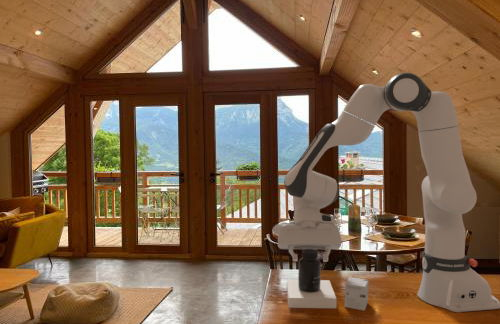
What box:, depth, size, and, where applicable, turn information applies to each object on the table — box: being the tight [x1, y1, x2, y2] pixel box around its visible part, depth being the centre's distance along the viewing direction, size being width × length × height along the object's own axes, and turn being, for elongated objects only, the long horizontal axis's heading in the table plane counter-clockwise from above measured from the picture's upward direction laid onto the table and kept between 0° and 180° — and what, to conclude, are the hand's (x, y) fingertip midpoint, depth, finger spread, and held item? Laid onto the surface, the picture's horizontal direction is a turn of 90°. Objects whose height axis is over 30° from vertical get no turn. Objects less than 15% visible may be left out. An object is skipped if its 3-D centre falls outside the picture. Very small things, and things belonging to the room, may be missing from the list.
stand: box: [286, 279, 338, 309], centre depth 124 cm, size 14×14×3 cm
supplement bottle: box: [297, 249, 322, 292], centre depth 124 cm, size 7×7×12 cm
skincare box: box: [344, 276, 370, 311], centre depth 119 cm, size 6×6×7 cm
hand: (310, 260), depth 123 cm, fingers open, 8 cm apart
